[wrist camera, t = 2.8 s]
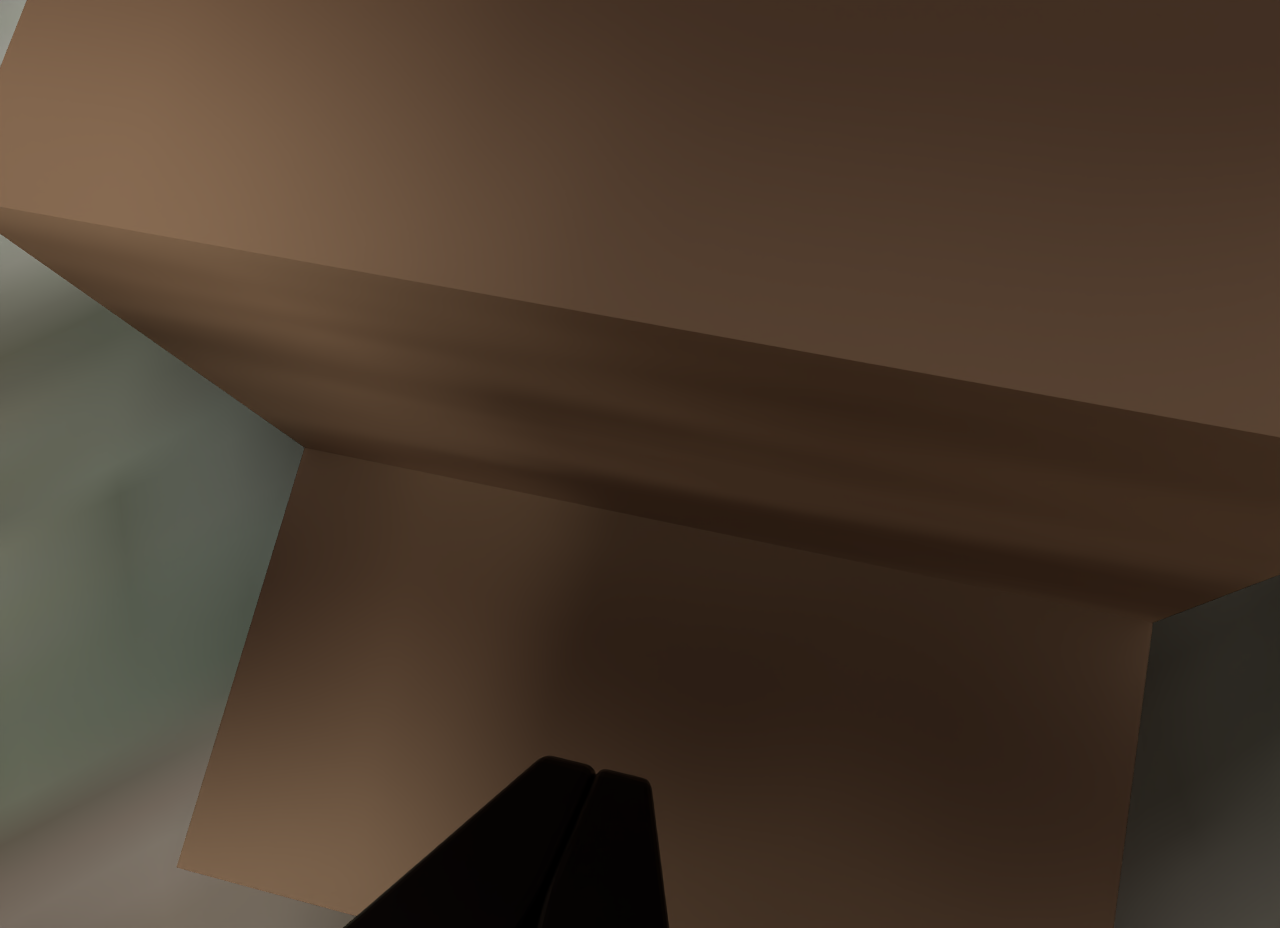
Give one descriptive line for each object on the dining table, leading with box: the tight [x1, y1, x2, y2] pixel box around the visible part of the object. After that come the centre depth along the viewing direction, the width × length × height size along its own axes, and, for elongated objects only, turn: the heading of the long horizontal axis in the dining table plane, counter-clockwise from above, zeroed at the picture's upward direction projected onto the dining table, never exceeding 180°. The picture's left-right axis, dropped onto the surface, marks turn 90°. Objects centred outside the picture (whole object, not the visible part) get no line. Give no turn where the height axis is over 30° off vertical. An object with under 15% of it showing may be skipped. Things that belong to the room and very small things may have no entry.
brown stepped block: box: [0, 0, 1280, 928], centre depth 12 cm, size 16×10×9 cm, turn 167°
